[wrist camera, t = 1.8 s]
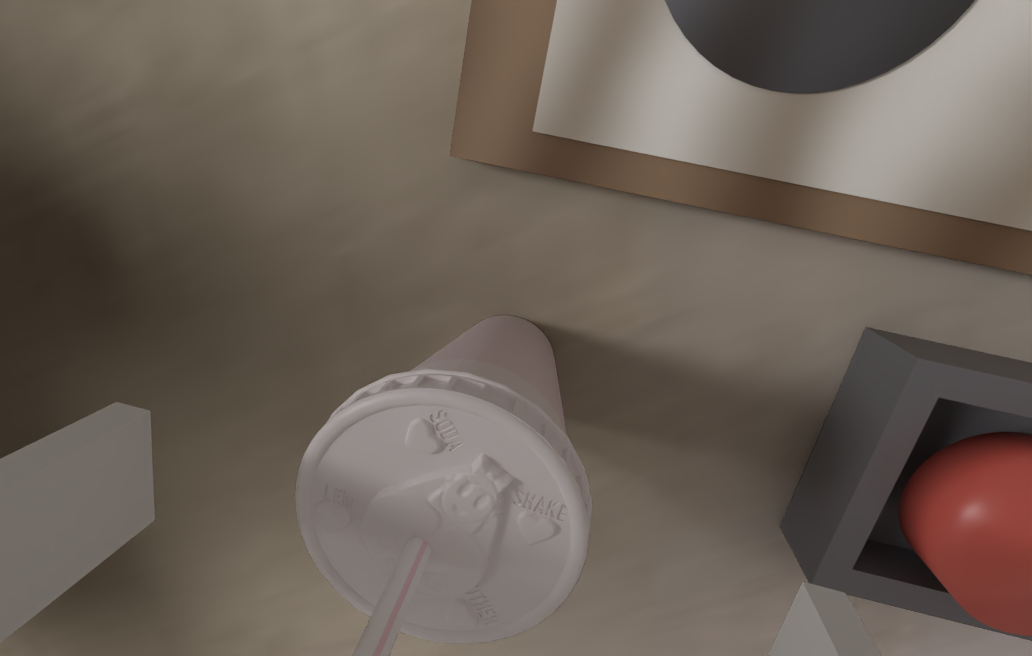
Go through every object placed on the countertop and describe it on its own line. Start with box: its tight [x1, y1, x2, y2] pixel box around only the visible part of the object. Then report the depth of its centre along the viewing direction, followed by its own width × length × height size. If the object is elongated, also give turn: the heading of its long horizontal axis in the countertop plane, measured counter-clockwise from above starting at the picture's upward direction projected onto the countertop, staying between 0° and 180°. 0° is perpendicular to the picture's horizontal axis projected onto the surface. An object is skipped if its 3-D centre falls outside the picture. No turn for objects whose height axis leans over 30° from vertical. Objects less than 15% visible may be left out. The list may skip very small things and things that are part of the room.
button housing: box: [780, 327, 1032, 641], centre depth 17 cm, size 8×8×3 cm
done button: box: [898, 432, 1032, 636], centre depth 15 cm, size 5×5×2 cm
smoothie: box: [295, 315, 592, 656], centre depth 13 cm, size 6×6×14 cm
